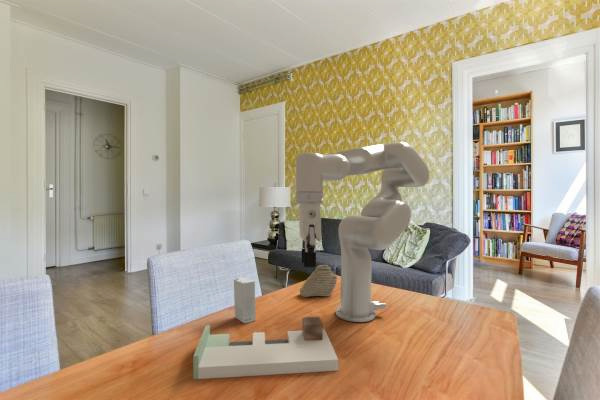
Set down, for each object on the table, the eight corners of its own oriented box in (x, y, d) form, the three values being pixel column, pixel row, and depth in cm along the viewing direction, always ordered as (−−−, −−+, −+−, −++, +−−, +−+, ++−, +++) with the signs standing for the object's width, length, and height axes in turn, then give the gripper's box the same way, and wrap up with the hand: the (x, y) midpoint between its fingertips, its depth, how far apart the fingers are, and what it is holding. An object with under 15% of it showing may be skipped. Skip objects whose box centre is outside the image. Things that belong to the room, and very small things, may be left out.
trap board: (324, 338, 85) (324, 320, 85) (338, 370, 70) (338, 348, 70) (205, 344, 82) (205, 325, 81) (193, 379, 67) (193, 356, 67)
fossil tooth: (299, 296, 122) (336, 290, 125) (302, 301, 116) (341, 294, 119) (296, 266, 122) (333, 261, 125) (300, 270, 116) (338, 264, 119)
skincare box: (256, 320, 97) (256, 281, 96) (243, 324, 94) (243, 283, 93) (246, 314, 101) (246, 276, 101) (233, 317, 99) (233, 278, 98)
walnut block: (319, 331, 84) (319, 316, 84) (322, 339, 79) (322, 324, 79) (302, 332, 83) (302, 317, 83) (304, 340, 79) (304, 324, 79)
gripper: (329, 199, 80) (328, 272, 80) (317, 197, 96) (316, 257, 97) (299, 199, 79) (298, 273, 79) (292, 197, 95) (292, 258, 96)
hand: (308, 263), depth 88 cm, fingers open, 4 cm apart
